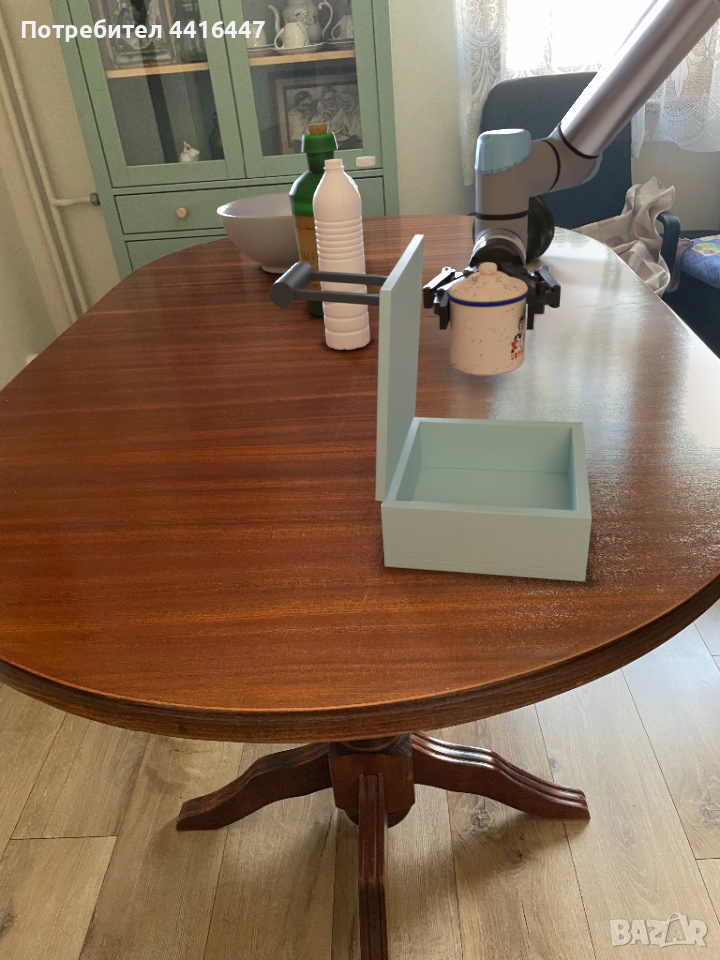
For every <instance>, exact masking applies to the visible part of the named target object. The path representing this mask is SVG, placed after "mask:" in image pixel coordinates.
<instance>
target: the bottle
mask: <svg viewBox="0 0 720 960" xmlns="http://www.w3.org/2000/svg"><path fill="white" fill-rule="evenodd" d="M305 126H306V128H307V133H303V134H302V138H301V139H302V141H301V149H300V153H303V154H305V159H306V164H307V165H306V166H307V169H308V170H306V171H304V172H303V173H302V174H301V175H299V177H298V178H297V179H296V180H295V181H294V182H293V184H292V186H291V189H290V190H289V192H290V193H289V198H290V204H291V210H292V216H293V222H294V228H295V234H296V240H297V246H298V252H299V258H300V261H304V262H307V263H309V264H310V265H311V266H312V267H313V269H314V271H319V262H318V257H319V256H318V249H317V237H316V230H315V226H316V225H315V218H314V212H313V197H314V194H315V192H316V189H317V187H318V185H319V183H320V181H321V179H322V177H323V175H324V173H325V169H324V167H325V160H330V159H335V151H337V150H338V149H339V147H338V143H337V139H336V136H335V132H334V131H329V122H313V123H307V124H306V125H305ZM346 175H347V176H348V178H349V179H350V180H351V182H352V183H353V184H354V186H355V187H356V189H357V190H358V191H359V189H358V185H357V184H356V182H355V180H354V179H353V178H352V177H351V176H350V175H348V174H347V173H346ZM306 289H311V290H322V287H321V283H320V281H313V282H312V283H311V284H310V285H309V286H308V287H307V288H306ZM306 304H307V311H308V312H309V313H310V314H313V315H314V316H317V317H322V318H324V312H323V302H321V301H307V300H306Z"/></svg>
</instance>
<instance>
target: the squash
mask: <svg viewBox="0 0 720 960" xmlns="http://www.w3.org/2000/svg"><path fill="white" fill-rule="evenodd" d="M555 227H556V226H555V217H554V214H553V212H552V210H551V209H550V207H549V204H548V203H547V202H546V200H545V198H544V197H543V196H542V194H541V195H537V196H533V197H529V204H528V224H527V235H528V245H527V251H526V260H525V265H527V264H530V263H533V262H534V261H535V260H537V259H540V257H542V256H543V255H545V253H546V252H547V250H548V249H549V248H550V246H551V244H552V242H553V240H554V237H555V232H556V231H555V230H556V228H555ZM471 239H472V242H473V243H472V244H473V246H474V247H475V218H474V219H473V222H472V226H471Z"/></svg>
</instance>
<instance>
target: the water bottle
mask: <svg viewBox="0 0 720 960" xmlns="http://www.w3.org/2000/svg"><path fill="white" fill-rule="evenodd" d="M355 162H356V163H355V165H356V167H359V168H361V167H362V168H363V167H372V166H375V165H376V156H375V155H364V156H358V157H356V158H355ZM343 164H344V163H343V159H342V158H334V159H330V160H325V167H324V169H325V173H324V175H323V177H322V179H321V181H320V183H319V185H318V187H317V189H316V192H315V194H314V197H313V212H314V218H315V225H316V226H315V230H316V237H317V249H318V256H319V257H318V262H319V271H326V272H341V273H356V274H367V273H366V259H365V258H366V257H365V253H364V252H365V247H364V243H365V242H364V234H363V233H364V231H363V222H362V221H363V217H362V216H363V215H362V199H361V195H360V192H359V189H358V190H357V189H356V187H355V186H354V184H353V183H352V182H351V180H350V179H349V178H348V176H347V175H348V174H347V173H346V171H345V170H344V168H345V165H343ZM346 174H347V175H346ZM320 283H321V287H322V290H324V291H338V292H352V293H366V294H368V288H367V285H363V284H349V283H335V282H320ZM368 309H369V305H361V304H347V303H334V302H323V312H324V317H323V323H324V327H325V329H324V335H325V343H326V345H327V347H328V348H330V349H333V350H337V351H343V350H346V351H350V350H351V351H352V350H357V349H361V348H363V347H366V346H367V345H368V344H369V343H370V342H371V331H370V329H371V328H370V325H369V321H370V316H369V311H368Z"/></svg>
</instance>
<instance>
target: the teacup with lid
mask: <svg viewBox="0 0 720 960" xmlns="http://www.w3.org/2000/svg"><path fill="white" fill-rule="evenodd" d="M528 294H529V290H528V287H527V285H526V283H525V282H523V281H522V280H520V279H517V278H514V277H509V276H508V275H506V274H505V273H503V272H499V271H497V265H496V264H495V263H491V262H487V263H482V264H480V266H479V272H476V273H473V274H472V275H470V276H469V277H467V278H466V279H462V280H459V281H457V282H455V283H454V284H452V285H451V286H450V288H449V291H448V294H447V296H448V298H449V299H450V320H449V341H450V342H449V344H450V345H449V346H450V347H449V349H450V351H449V352H450V364H451V366H452V367H453V368H454V369H455V370H457V371H459V372H461V373H464V374H468V375H474V376H498V375H504V374H507V373H510V372H513V371H515V370H517V369H519V368H520V367H521V366H522V365H523V364H524V361H525V347H526V324H527V304H526V297H527V296H528Z"/></svg>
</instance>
